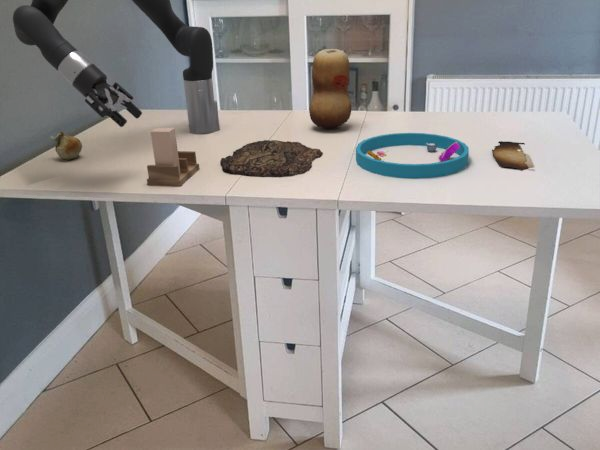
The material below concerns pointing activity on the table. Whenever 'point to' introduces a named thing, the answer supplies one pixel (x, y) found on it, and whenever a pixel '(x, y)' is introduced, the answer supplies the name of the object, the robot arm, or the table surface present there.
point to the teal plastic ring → (412, 169)
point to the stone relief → (270, 159)
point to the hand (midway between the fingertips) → (132, 120)
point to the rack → (173, 171)
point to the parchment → (512, 156)
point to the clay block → (165, 147)
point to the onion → (67, 146)
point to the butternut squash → (330, 89)
